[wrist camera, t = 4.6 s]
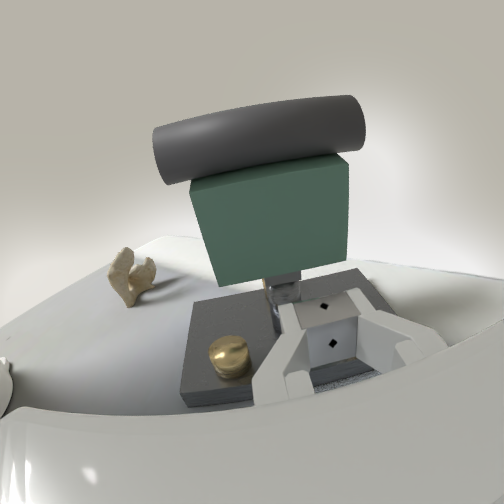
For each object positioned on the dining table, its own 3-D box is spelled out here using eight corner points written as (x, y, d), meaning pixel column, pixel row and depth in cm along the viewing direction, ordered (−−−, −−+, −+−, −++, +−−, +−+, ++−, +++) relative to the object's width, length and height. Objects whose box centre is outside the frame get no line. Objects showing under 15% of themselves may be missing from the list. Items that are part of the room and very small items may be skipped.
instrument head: (207, 307, 23) (146, 138, 14) (206, 260, 28) (163, 118, 19) (361, 274, 23) (368, 101, 14) (337, 234, 28) (331, 89, 19)
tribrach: (187, 407, 22) (156, 349, 19) (198, 315, 35) (181, 264, 32) (412, 355, 22) (424, 290, 19) (357, 281, 35) (355, 229, 32)
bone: (138, 268, 48) (137, 223, 41) (165, 288, 47) (167, 244, 40) (102, 296, 42) (93, 251, 35) (129, 320, 40) (123, 277, 34)
